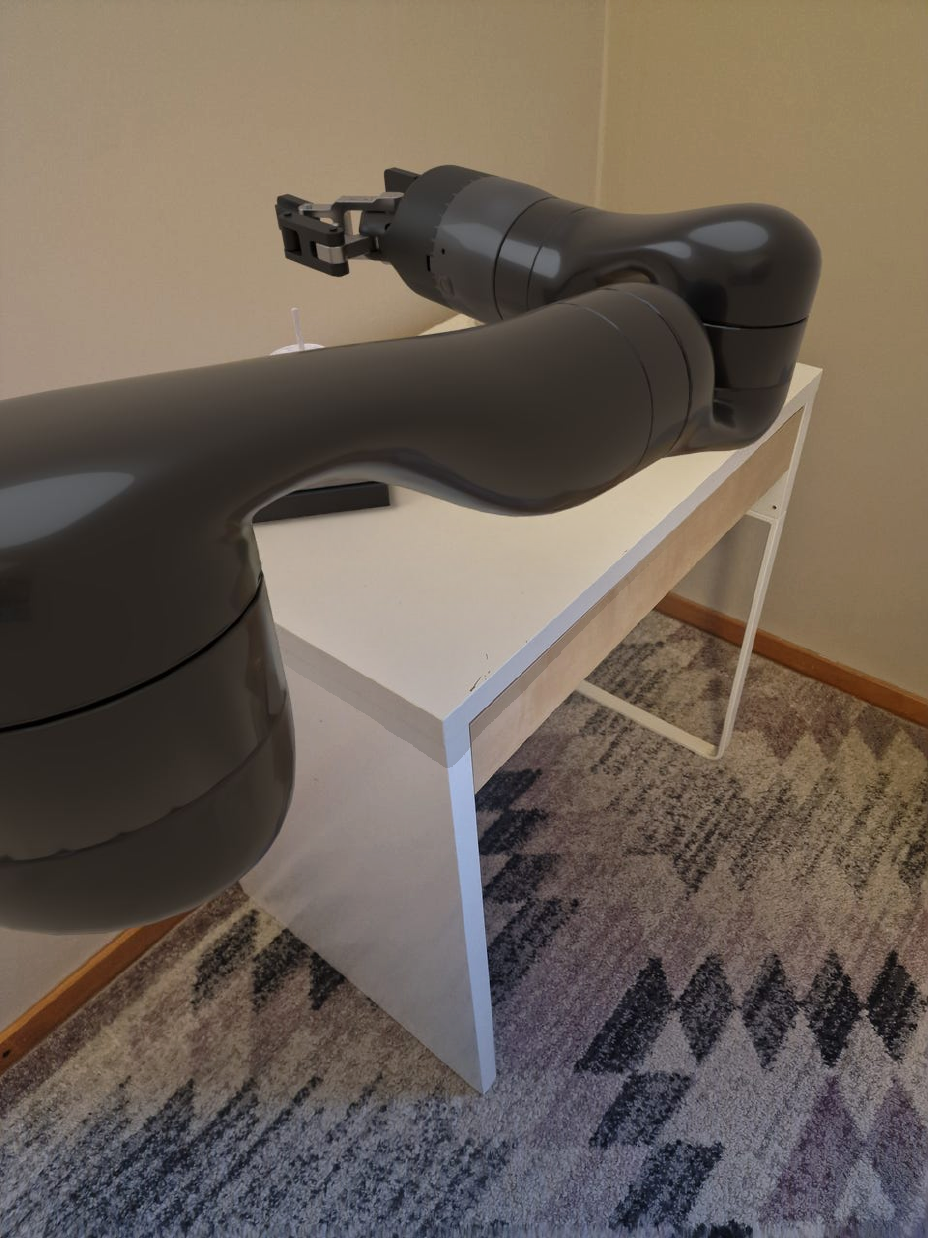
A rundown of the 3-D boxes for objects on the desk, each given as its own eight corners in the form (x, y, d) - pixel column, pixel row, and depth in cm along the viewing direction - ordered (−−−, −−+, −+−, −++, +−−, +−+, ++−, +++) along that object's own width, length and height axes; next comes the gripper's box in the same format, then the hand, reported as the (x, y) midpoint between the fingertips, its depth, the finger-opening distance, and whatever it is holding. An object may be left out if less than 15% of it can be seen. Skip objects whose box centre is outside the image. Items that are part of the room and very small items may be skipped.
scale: (225, 526, 83) (218, 499, 81) (233, 454, 93) (226, 429, 91) (389, 505, 84) (386, 478, 82) (379, 436, 94) (376, 411, 92)
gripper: (580, 152, 49) (415, 116, 59) (377, 207, 43) (231, 157, 53) (576, 283, 54) (424, 230, 64) (393, 350, 48) (256, 280, 58)
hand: (337, 197), depth 59 cm, fingers open, 8 cm apart
